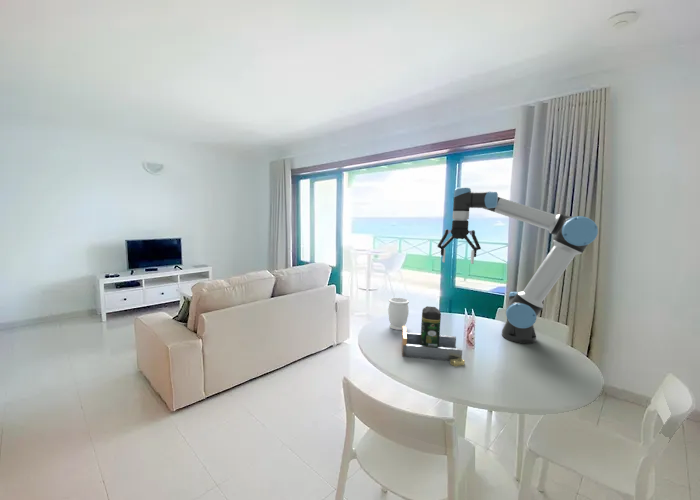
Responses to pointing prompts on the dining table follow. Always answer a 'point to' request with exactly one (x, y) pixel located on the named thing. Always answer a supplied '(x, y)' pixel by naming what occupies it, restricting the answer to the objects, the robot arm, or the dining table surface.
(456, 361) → the brass key block
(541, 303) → the robot arm
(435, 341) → the coffee jar
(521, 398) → the dining table surface
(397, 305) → the jar
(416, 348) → the channel
